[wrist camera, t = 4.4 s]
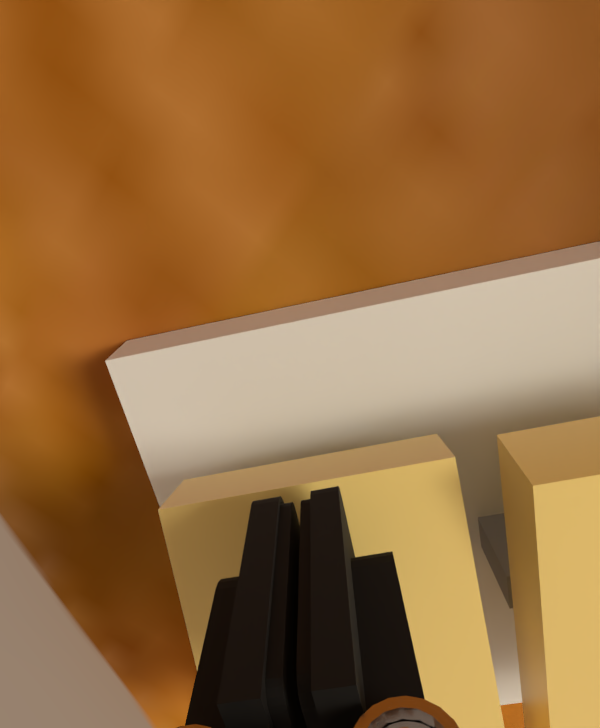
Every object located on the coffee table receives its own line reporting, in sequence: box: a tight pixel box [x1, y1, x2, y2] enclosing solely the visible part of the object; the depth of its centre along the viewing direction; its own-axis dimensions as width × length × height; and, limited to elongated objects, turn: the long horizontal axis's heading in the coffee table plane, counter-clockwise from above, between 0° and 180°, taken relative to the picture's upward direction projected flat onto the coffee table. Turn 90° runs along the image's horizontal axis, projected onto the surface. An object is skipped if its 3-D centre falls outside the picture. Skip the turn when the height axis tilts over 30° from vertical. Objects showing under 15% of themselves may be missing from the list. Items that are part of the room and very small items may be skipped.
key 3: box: [158, 434, 504, 728], centre depth 11 cm, size 9×6×2 cm, turn 12°
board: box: [105, 241, 600, 705], centre depth 14 cm, size 14×23×4 cm, turn 102°
